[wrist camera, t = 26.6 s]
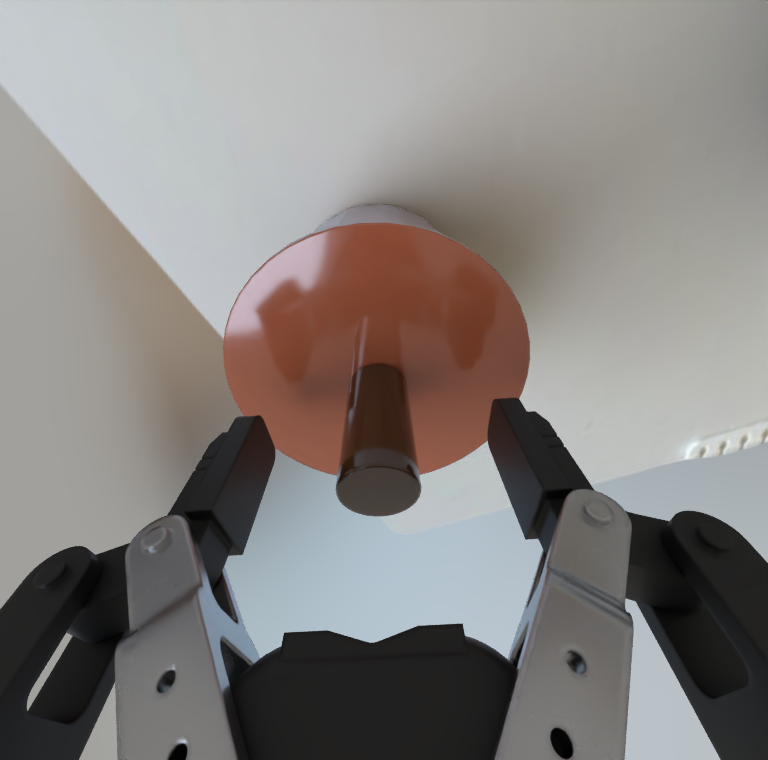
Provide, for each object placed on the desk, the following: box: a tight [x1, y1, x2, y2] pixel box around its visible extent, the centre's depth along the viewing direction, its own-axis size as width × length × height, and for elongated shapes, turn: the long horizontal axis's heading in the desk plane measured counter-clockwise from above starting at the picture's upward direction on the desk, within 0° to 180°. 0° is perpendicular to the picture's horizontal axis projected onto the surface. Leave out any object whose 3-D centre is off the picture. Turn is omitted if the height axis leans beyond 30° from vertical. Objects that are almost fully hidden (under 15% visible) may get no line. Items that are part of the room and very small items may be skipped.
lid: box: [223, 221, 530, 516], centre depth 11 cm, size 12×12×6 cm
